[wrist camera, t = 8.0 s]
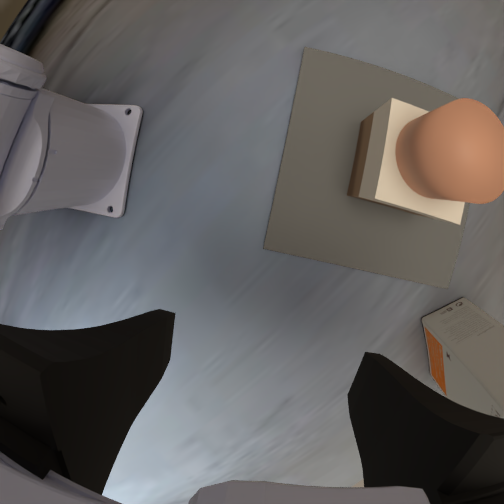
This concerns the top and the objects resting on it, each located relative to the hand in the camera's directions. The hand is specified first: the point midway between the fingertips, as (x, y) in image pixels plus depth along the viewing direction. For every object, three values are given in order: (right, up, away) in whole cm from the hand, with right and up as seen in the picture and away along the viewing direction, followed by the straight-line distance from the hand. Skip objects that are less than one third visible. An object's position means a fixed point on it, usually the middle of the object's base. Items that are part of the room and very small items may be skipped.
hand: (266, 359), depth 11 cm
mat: (+8, +9, +8) cm, 15 cm away
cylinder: (+8, +8, +2) cm, 12 cm away
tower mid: (+8, +9, +5) cm, 13 cm away
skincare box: (+15, -3, +10) cm, 18 cm away
